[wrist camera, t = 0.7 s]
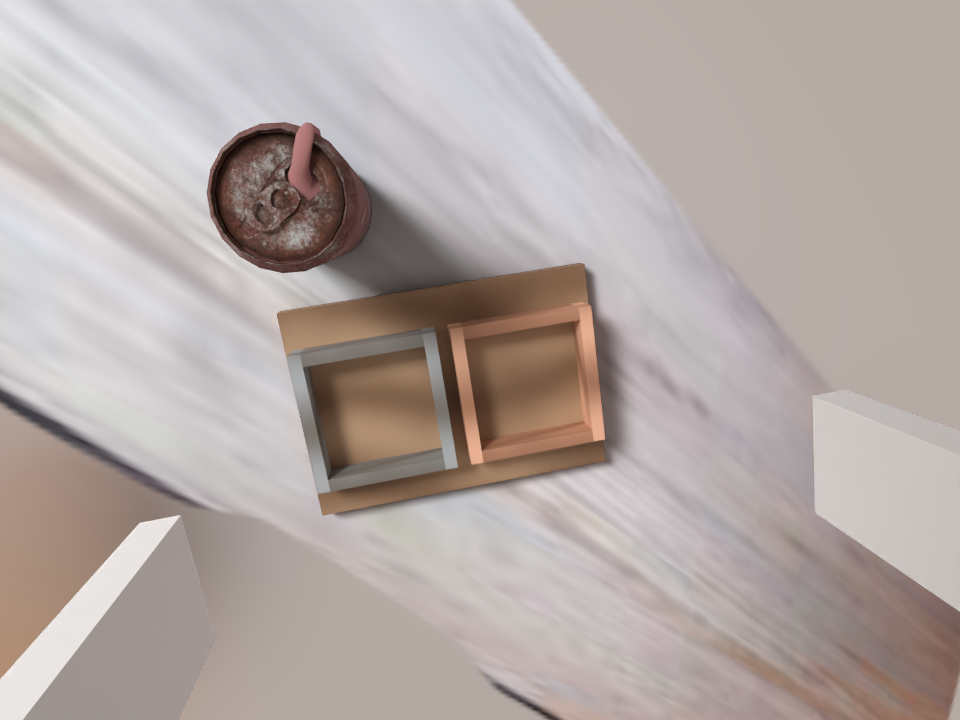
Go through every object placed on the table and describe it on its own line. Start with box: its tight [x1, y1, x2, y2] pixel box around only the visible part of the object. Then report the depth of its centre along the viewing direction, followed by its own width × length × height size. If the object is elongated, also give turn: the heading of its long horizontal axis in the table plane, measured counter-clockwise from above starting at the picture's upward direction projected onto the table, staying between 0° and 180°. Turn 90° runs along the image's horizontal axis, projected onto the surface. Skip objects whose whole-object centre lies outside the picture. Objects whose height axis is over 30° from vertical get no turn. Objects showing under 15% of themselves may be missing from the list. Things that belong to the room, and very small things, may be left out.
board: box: [277, 263, 605, 515], centre depth 40 cm, size 14×20×3 cm
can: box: [207, 122, 372, 273], centre depth 31 cm, size 6×6×14 cm
